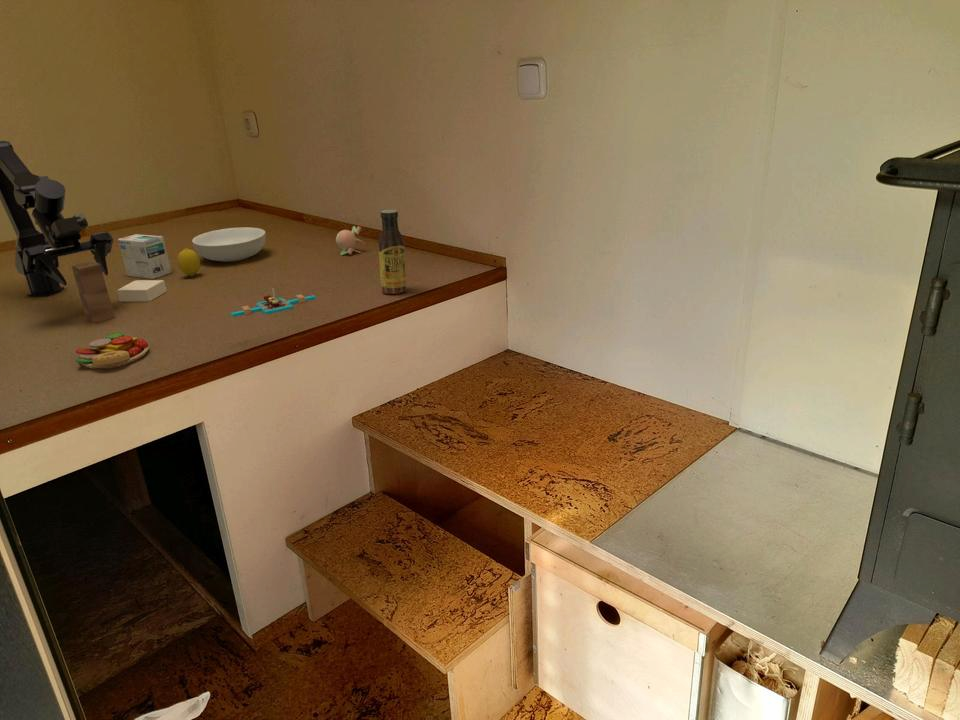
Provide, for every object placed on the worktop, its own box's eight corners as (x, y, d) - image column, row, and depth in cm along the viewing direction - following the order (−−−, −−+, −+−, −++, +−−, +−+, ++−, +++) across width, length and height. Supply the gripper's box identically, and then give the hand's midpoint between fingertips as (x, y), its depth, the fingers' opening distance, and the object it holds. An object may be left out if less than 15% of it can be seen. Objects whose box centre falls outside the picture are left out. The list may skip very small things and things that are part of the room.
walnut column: (86, 319, 162) (71, 265, 157) (106, 313, 165) (91, 261, 160) (95, 323, 159) (79, 268, 154) (114, 317, 162) (100, 263, 157)
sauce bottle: (387, 297, 167) (378, 215, 159) (378, 290, 172) (369, 210, 164) (412, 292, 170) (404, 211, 162) (402, 285, 175) (395, 207, 167)
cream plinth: (119, 301, 173) (116, 290, 172) (138, 291, 181) (135, 280, 179) (149, 301, 172) (146, 290, 171) (166, 291, 180) (164, 280, 178)
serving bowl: (181, 265, 203) (176, 242, 200) (229, 247, 221) (225, 225, 218) (238, 270, 196) (233, 246, 193) (283, 250, 213) (279, 228, 210)
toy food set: (111, 376, 132) (107, 360, 131) (62, 368, 137) (57, 353, 135) (164, 349, 143) (160, 335, 142) (116, 343, 148) (112, 329, 147)
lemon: (195, 279, 188) (189, 251, 185) (177, 279, 189) (170, 250, 186) (206, 273, 193) (200, 245, 190) (188, 273, 194) (182, 245, 191)
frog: (371, 234, 207) (359, 233, 213) (350, 220, 202) (338, 219, 207) (358, 263, 206) (345, 261, 211) (336, 250, 200) (324, 249, 206)
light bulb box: (172, 272, 196) (164, 235, 191) (153, 279, 190) (144, 241, 186) (145, 269, 200) (136, 233, 196) (126, 276, 194) (116, 238, 190)
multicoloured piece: (226, 312, 164) (236, 323, 157) (222, 290, 162) (232, 300, 155) (307, 294, 174) (320, 304, 166) (304, 274, 171) (317, 282, 164)
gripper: (10, 212, 150) (45, 268, 147) (98, 197, 163) (131, 249, 160) (9, 243, 158) (42, 297, 155) (94, 226, 170) (125, 276, 168)
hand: (86, 279), depth 160 cm, fingers open, 9 cm apart
